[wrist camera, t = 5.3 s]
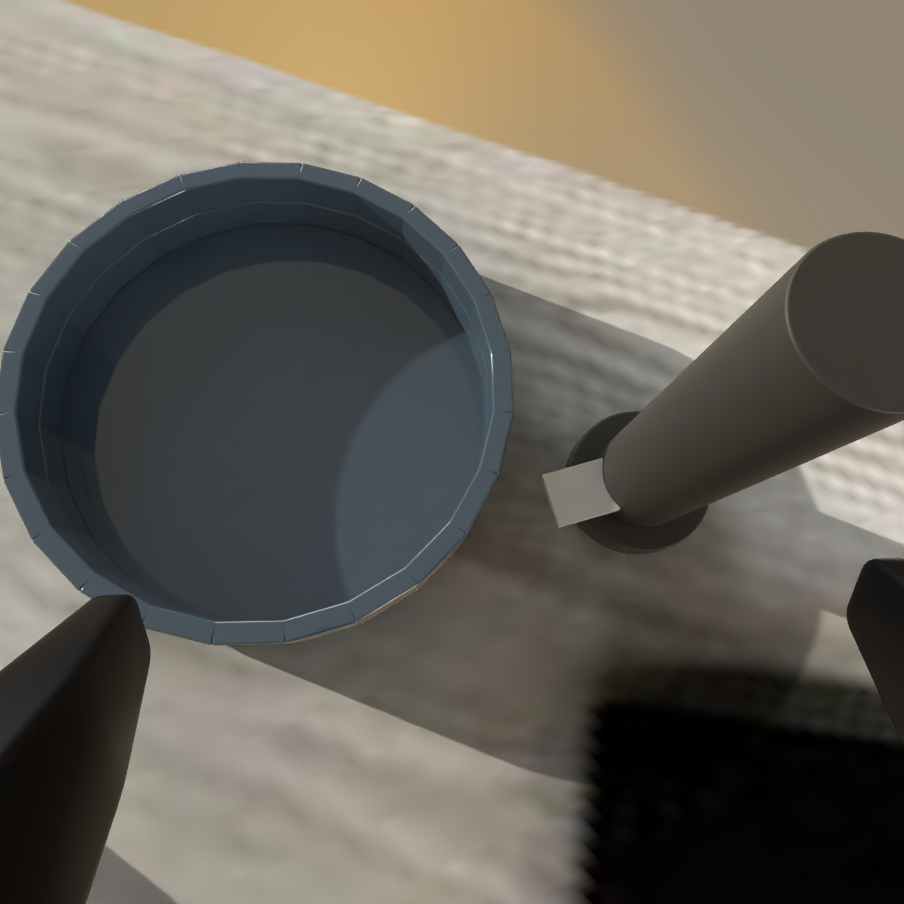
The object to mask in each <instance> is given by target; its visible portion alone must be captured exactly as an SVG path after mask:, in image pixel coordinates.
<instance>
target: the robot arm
mask: <svg viewBox="0 0 904 904" xmlns="http://www.w3.org/2000/svg"><path fill="white" fill-rule="evenodd" d="M847 621H848V625H849V628H850V630H851V632H852V635H853V637H854V639H855V641H856V643H857V646H858V648H859V650H860V652H861V654H862V657H863V659H864V661H865V663H866V665H867V667H868V670H869V672H870V674H871V676H872V678H873V681H874V683H875V685H876V687H877V689H878V692H879V694H880V696H881V698H882V700H883V703H884V705H885V707H886V709H887V711H888V714H889V716H890V718H891V720H892V722H893V724H894V726H895V728H896V730H897V732H898V734H899V736H900V738H901V740H902V742H903V744H904V559H902V558H883V559H872V560H869V561H868V562H867V563H866V564H865V565H864V566H863V568H862V570H861V572H860V575H859V578H858V580H857V583H856V585H855V588H854V591H853V593H852V596H851V598H850V601H849V604H848V607H847ZM149 664H150V644H149V640H148V637H147V634H146V630H145V627H144V624H143V620H142V617H141V614H140V610H139V607H138V604H137V602H136V600H135V599H134V597H132V596H131V595H127V594H123V595H102V596H97V597H95V598H93V599H91V600H90V601H88V602H87V603H86V604H85V605H83V606H82V607H81V608H80V609H78V610H77V611H76V612H74V613H73V614H72V615H71V616H69V617H68V618H67V619H66V620H64V621H63V622H62V623H61V624H59V625H58V626H57V627H55V628H54V629H53V630H52V631H50V632H49V633H48V634H47V635H45V636H44V637H43V638H41V639H40V640H39V641H38V642H36V643H35V644H34V645H33V646H31V647H30V648H29V649H28V650H26V651H25V652H24V653H22V654H21V655H20V656H19V657H17V658H16V659H15V660H14V661H12V662H11V663H10V664H9V665H7V666H6V667H5V668H3V669H2V670H1V671H0V904H86V901H87V898H88V895H89V892H90V889H91V886H92V883H93V880H94V877H95V874H96V871H97V868H98V865H99V861H100V858H101V855H102V852H103V849H104V846H105V843H106V840H107V837H108V834H109V831H110V828H111V825H112V822H113V819H114V816H115V813H116V810H117V807H118V803H119V800H120V797H121V793H122V790H123V787H124V782H125V778H126V774H127V770H128V765H129V760H130V756H131V751H132V746H133V741H134V736H135V732H136V727H137V722H138V717H139V713H140V708H141V703H142V698H143V693H144V689H145V684H146V679H147V674H148V670H149Z"/></svg>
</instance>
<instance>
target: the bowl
mask: <svg viewBox="0 0 904 904" xmlns="http://www.w3.org/2000/svg"><path fill="white" fill-rule="evenodd" d="M121 202H122V203H120V202H119V203H117V204H116V205H115V206H114V207H112V208H111V209H110V210H108V211H107V212H106V213H105V214H103V215H102V216H101V217H99V218H98V219H97V220H95V221H94V222H93V223H92V224H90V225H89V226H88V227H86V228H85V229H84V230H83V231H81V232H80V233H79V234H77V235H76V236H75V237H74V238H72V239H71V242H68V243H67V244H66V246H65V247H64V248H63V249H62V251H61V252H60V253H59V254H58V256H57V257H56V258H55V259H54V261H53V262H52V263H51V264H50V266H49V267H48V268H47V269H46V271H45V272H44V273H43V275H42V276H41V277H40V278H39V280H38V281H37V282H36V283H35V285H34V286H33V287H32V288H31V290H30V291H31V292H29V293H28V295H27V297H26V299H25V301H24V304H23V306H22V308H21V310H20V313H19V315H18V317H17V319H16V322H15V324H14V326H13V329H12V331H11V333H10V335H9V338H8V340H7V342H6V344H5V347H4V352H3V354H2V361H1V368H0V460H1V467H2V473H3V478H4V479H5V480H4V483H5V485H6V487H7V489H8V491H9V493H10V495H11V497H12V499H13V501H14V503H15V506H16V508H17V510H18V512H19V514H20V516H21V518H22V520H23V522H24V524H25V526H26V529H27V531H28V533H29V535H30V537H31V539H32V540H33V542H34V543H35V544H36V545H37V546H38V548H39V549H40V550H41V551H42V552H43V553H44V554H45V555H46V556H47V557H48V558H49V559H50V560H51V562H52V563H53V564H54V565H55V566H56V567H57V568H58V569H59V570H60V571H61V572H62V573H63V575H64V576H65V577H66V578H67V579H68V580H69V581H70V582H71V583H72V584H73V585H74V586H75V588H76V589H77V590H79V591H81V592H82V593H83V594H84V595H86V596H88V597H90V598H91V599H93V598H95V597H97V596H102V595H123V594H127V595H131V596H132V597H134V599H135V600H136V602H137V604H138V607H139V610H140V614H141V617H142V620H143V624H144V627H145V629H148V630H152V631H156V632H160V633H164V634H168V635H172V636H176V637H180V638H184V639H188V640H192V641H196V642H200V643H204V644H208V645H254V644H287V643H298V642H304V641H307V640H310V639H314V638H317V637H320V636H324V635H328V634H332V633H335V632H338V631H341V630H344V629H347V628H351V627H354V626H358V625H361V624H362V623H365V622H367V621H368V620H370V619H372V618H373V617H375V616H377V615H378V614H380V613H382V612H384V611H386V610H387V609H389V608H391V607H393V606H394V605H395V604H397V603H398V602H400V601H401V600H403V599H405V598H406V597H408V596H409V595H411V594H413V593H414V592H416V591H417V589H420V588H421V587H422V586H423V585H424V583H425V582H426V581H427V580H428V579H429V578H430V577H431V576H432V575H433V574H434V573H435V572H436V571H437V570H439V569H440V567H441V566H442V565H443V564H444V563H445V561H446V560H447V559H448V558H449V557H450V556H451V555H452V554H453V553H454V552H455V551H456V550H457V549H458V548H459V547H460V545H461V544H462V543H463V541H464V539H465V538H466V536H467V534H468V532H469V531H470V529H471V527H472V525H473V523H474V521H475V520H476V518H477V516H478V514H479V512H480V510H481V509H482V507H483V505H484V503H485V501H486V499H487V498H488V496H489V494H490V492H491V490H492V488H493V487H494V485H495V483H496V481H497V479H498V476H499V474H500V471H501V467H502V462H503V458H504V454H505V449H506V445H507V441H508V436H509V432H510V428H511V424H512V419H513V412H514V403H513V382H512V360H511V352H510V347H509V344H508V341H507V338H506V335H505V332H504V329H503V326H502V323H501V320H500V317H499V314H498V311H497V308H496V304H495V301H494V298H493V296H492V295H491V292H490V291H489V289H488V288H487V286H486V285H485V283H484V282H483V280H482V279H481V277H480V276H479V274H478V273H477V271H476V270H475V268H474V267H473V265H472V264H471V262H470V261H469V259H468V258H467V256H466V255H465V253H464V252H463V250H462V249H461V247H460V246H458V244H457V243H456V242H455V241H454V240H453V239H452V238H451V237H449V236H448V235H447V234H446V233H445V232H444V231H443V230H442V229H440V228H439V227H438V226H437V225H436V224H435V223H434V222H433V221H431V220H430V219H429V218H428V217H427V216H426V215H425V214H423V213H422V212H421V211H420V210H419V209H418V208H417V207H414V205H413V204H411V203H409V202H407V201H405V200H403V199H401V198H399V197H397V196H395V195H394V194H392V193H390V192H388V191H386V190H384V189H382V188H380V187H378V186H376V185H374V184H372V183H370V182H369V181H367V180H365V179H361V178H359V177H356V176H352V175H348V174H344V173H340V172H336V171H332V170H328V169H324V168H320V167H316V166H312V165H308V164H301V163H273V162H241V164H240V163H238V162H237V163H232V164H228V165H223V166H218V167H213V168H208V169H204V170H199V171H194V172H189V173H184V174H180V175H179V176H175V177H172V178H170V179H168V180H166V181H164V182H161V183H159V184H157V185H155V186H153V187H150V188H148V189H146V190H144V191H142V192H140V193H137V194H135V195H133V196H131V197H129V198H126V199H124V200H122V201H121Z"/></svg>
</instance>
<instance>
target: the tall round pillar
mask: <svg viewBox="0 0 904 904" xmlns="http://www.w3.org/2000/svg"><path fill="white" fill-rule="evenodd" d="M903 420H904V239H901V238H898V237H895V236H891V235H887V234H882V233H875V232H874V233H873V232H854V233H848V234H843V235H839V236H836V237H833V238H830V239H828V240H826V241H823V242H821V243H819V244H818V245H816V246H815V247H814V248H812V249H811V250H810V251H808V252H807V253H806V254H805V255H804V256H803V257H802V258H801V259H800V260H799V261H798V262H797V263H796V264H795V265H794V266H793V267H792V268H791V269H789V270H788V271H787V272H786V273H785V274H784V275H783V276H782V277H781V278H780V279H779V280H778V281H777V282H776V283H775V284H774V285H773V286H772V287H771V288H770V289H769V290H768V291H767V292H765V293H764V294H763V295H762V296H761V297H760V298H759V299H758V300H757V301H756V302H755V303H754V304H753V305H752V306H751V307H750V308H749V309H748V310H747V311H746V312H745V313H744V314H743V315H741V316H740V317H739V318H738V319H737V320H736V321H735V322H734V323H733V324H732V325H731V326H730V327H729V328H728V329H727V330H726V331H725V332H724V333H723V334H722V335H721V336H720V337H719V338H717V339H716V340H715V341H714V342H713V343H712V344H711V345H710V346H709V347H708V348H707V349H706V350H705V351H704V352H703V353H702V354H701V355H700V356H699V357H698V358H697V359H696V360H695V361H693V362H692V363H691V364H690V365H689V366H688V367H687V368H686V369H685V370H684V371H683V372H682V373H681V374H680V375H679V376H678V377H677V378H676V379H675V380H674V381H673V382H672V383H670V384H669V385H668V386H667V387H666V388H665V389H664V390H663V391H662V392H661V393H660V394H659V395H658V396H657V397H656V398H655V399H654V400H653V401H652V402H651V403H650V404H649V405H648V406H646V407H645V408H644V409H643V410H642V411H641V412H624V413H619V414H616V415H613V416H610V417H608V418H606V419H604V420H602V421H600V422H599V423H597V424H596V425H594V426H593V427H592V428H591V429H590V430H589V431H588V432H587V433H586V434H585V435H584V436H583V437H582V439H581V440H580V441H579V442H578V443H577V445H576V446H575V448H574V449H573V451H572V453H571V455H570V457H569V460H568V463H567V466H566V468H565V469H561V470H558V471H554V472H550V473H547V474H543V475H542V476H541V479H542V482H543V485H544V488H545V492H546V495H547V498H548V501H549V504H550V507H551V510H552V513H553V516H554V519H555V522H556V525H557V528H561V527H564V526H567V525H571V524H574V523H579V525H580V526H581V528H582V529H583V530H584V531H585V532H586V533H587V534H588V535H589V536H591V537H592V538H593V539H594V540H596V541H597V542H599V543H600V544H602V545H604V546H606V547H608V548H610V549H612V550H616V551H619V552H623V553H628V554H646V553H651V552H656V551H659V550H662V549H665V548H668V547H670V546H673V545H675V544H677V543H679V542H681V541H682V540H684V539H685V538H686V537H688V536H689V535H690V534H691V533H692V532H693V531H694V530H695V529H696V528H697V526H698V525H699V524H700V522H701V521H702V519H703V517H704V515H705V513H706V511H707V508H708V505H709V504H711V503H713V502H715V501H718V500H720V499H722V498H725V497H727V496H729V495H731V494H734V493H736V492H738V491H741V490H743V489H745V488H748V487H750V486H752V485H755V484H757V483H759V482H762V481H764V480H766V479H769V478H771V477H773V476H775V475H778V474H780V473H782V472H785V471H787V470H789V469H792V468H794V467H796V466H799V465H801V464H803V463H806V462H808V461H810V460H813V459H815V458H817V457H819V456H822V455H824V454H826V453H829V452H831V451H833V450H836V449H838V448H840V447H843V446H845V445H847V444H850V443H852V442H854V441H856V440H859V439H861V438H863V437H866V436H868V435H870V434H873V433H875V432H877V431H880V430H882V429H884V428H887V427H889V426H891V425H894V424H896V423H898V422H900V421H903Z"/></svg>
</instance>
